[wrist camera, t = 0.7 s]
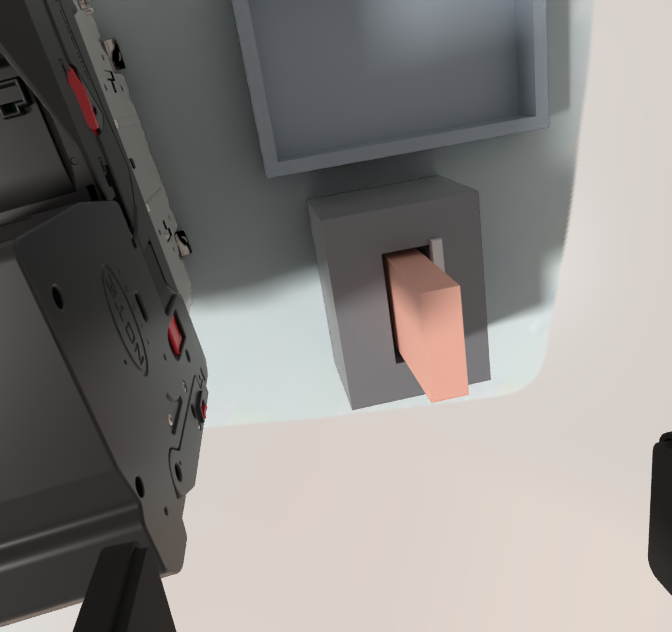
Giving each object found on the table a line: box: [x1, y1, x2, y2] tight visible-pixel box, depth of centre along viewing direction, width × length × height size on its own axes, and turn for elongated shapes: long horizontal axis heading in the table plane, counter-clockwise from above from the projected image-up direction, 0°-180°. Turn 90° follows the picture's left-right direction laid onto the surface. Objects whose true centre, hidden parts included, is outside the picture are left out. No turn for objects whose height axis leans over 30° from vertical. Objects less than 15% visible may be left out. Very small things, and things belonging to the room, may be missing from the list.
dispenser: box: [307, 176, 491, 410], centre depth 38 cm, size 12×9×7 cm
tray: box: [231, 0, 549, 179], centre depth 35 cm, size 12×18×3 cm, turn 99°
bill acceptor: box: [0, 0, 208, 627], centre depth 24 cm, size 10×23×25 cm, turn 14°
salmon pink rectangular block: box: [382, 248, 469, 403], centre depth 35 cm, size 6×2×12 cm, turn 9°
